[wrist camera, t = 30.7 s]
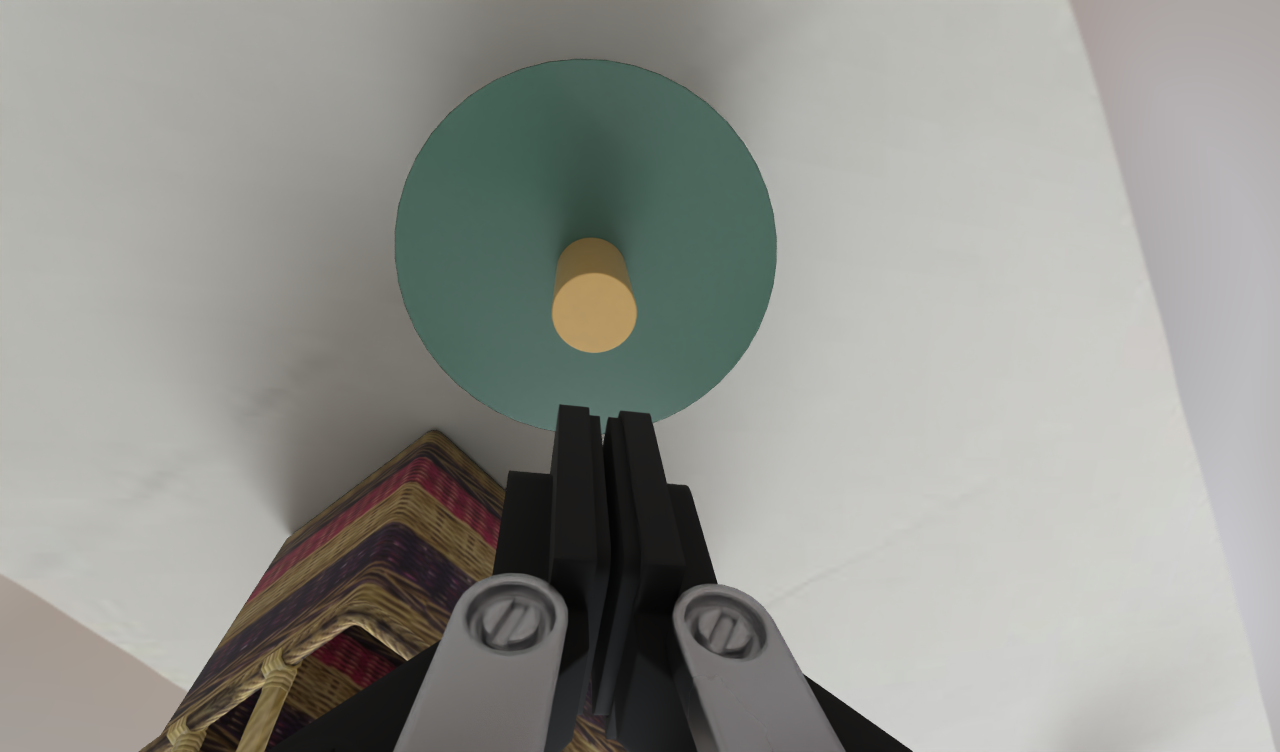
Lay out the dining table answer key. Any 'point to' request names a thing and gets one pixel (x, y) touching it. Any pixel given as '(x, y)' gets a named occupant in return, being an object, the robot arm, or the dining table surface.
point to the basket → (353, 605)
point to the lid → (585, 243)
